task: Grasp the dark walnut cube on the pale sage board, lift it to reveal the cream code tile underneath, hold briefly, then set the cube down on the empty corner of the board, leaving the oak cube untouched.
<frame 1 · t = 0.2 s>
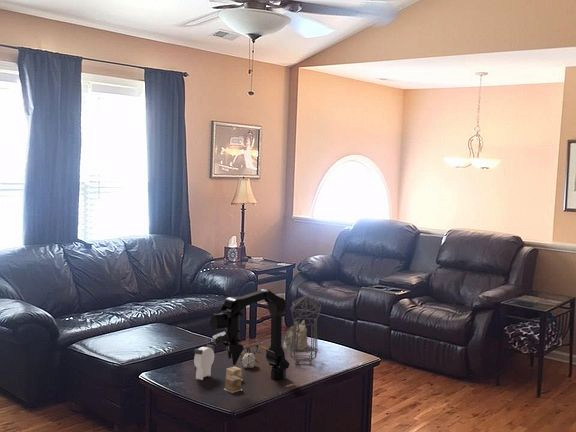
hand: (231, 361, 269), 14 cm above the table, fingers open, 9 cm apart
oak block: (233, 379, 284), point 1 cm above the table, touching code board
panda figurine: (203, 379, 287), on the table
geometric lantern: (303, 363, 315), on the table
walnut block: (232, 389, 272), point 1 cm above the table, touching code board
eyeglasses: (257, 357, 324), on the table
code board: (236, 387, 277), on the table
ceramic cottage: (293, 346, 345), on the table
game die: (248, 368, 303), on the table
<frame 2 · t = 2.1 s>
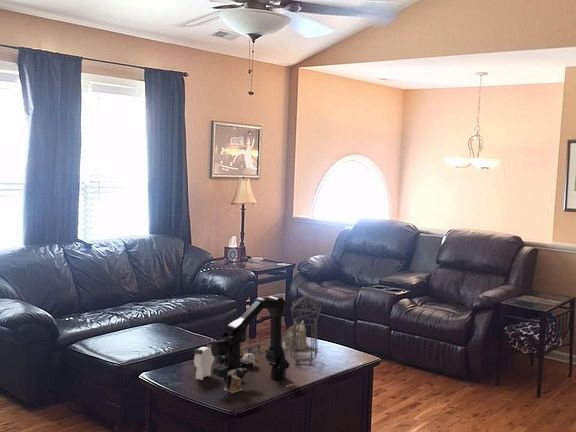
hand: (233, 387, 272), 2 cm above the table, fingers closed on walnut block, 5 cm apart
walnut block: (232, 389, 272), point 1 cm above the table, touching code board, gripper
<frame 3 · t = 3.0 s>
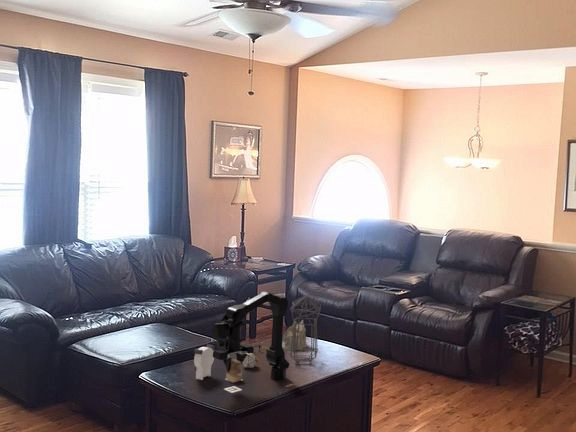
hand: (233, 370, 271), 9 cm above the table, fingers closed on walnut block, 5 cm apart
walnut block: (233, 372, 271), point 8 cm above the table, touching gripper
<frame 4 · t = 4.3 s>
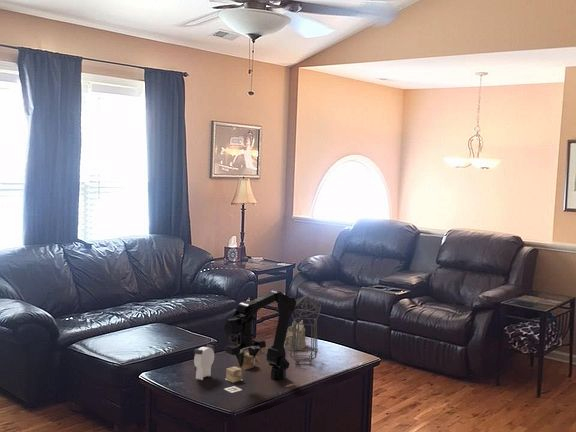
hand: (245, 365, 273), 11 cm above the table, fingers closed on walnut block, 5 cm apart
walnut block: (245, 367, 274), point 10 cm above the table, touching gripper
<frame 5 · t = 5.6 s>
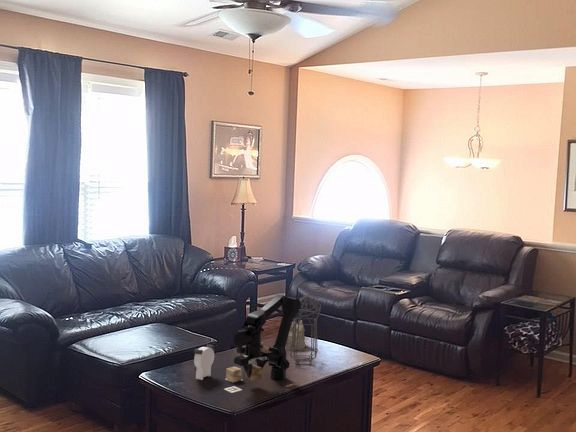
hand: (253, 376, 275), 6 cm above the table, fingers closed on walnut block, 5 cm apart
walnut block: (253, 378, 275), point 5 cm above the table, touching gripper
when the fingers open (3 cm above the table, at t = 6.5 s): walnut block drops 1 cm, resting on code board.
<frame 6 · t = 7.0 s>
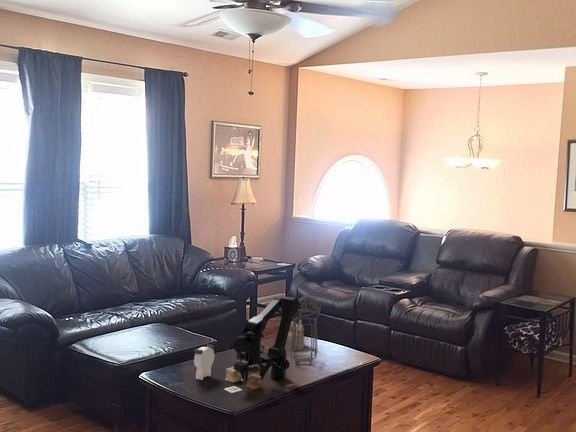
hand: (253, 382, 275), 3 cm above the table, fingers open, 9 cm apart
walnut block: (253, 387, 276), point 1 cm above the table, touching code board
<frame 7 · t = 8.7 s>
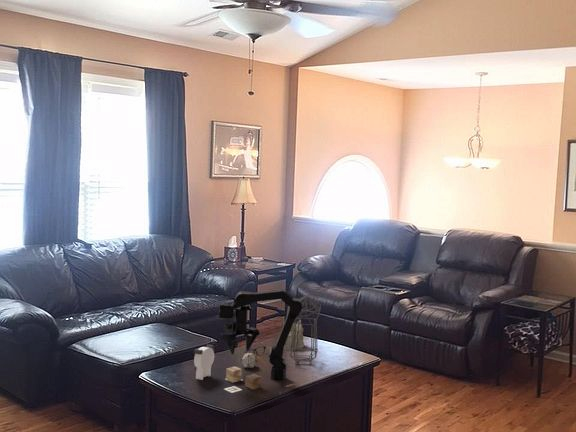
hand: (239, 352, 286), 13 cm above the table, fingers open, 9 cm apart
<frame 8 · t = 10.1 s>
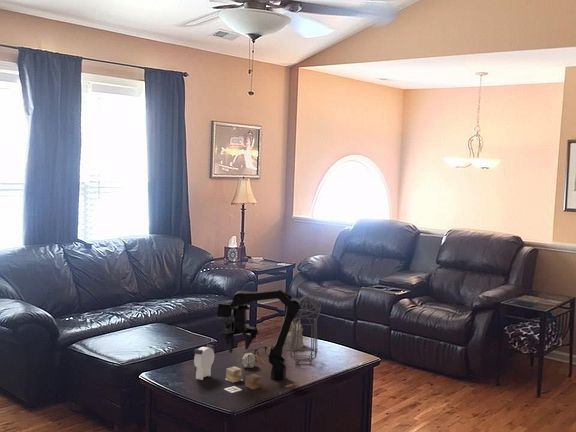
hand: (238, 351, 288), 13 cm above the table, fingers open, 9 cm apart
at the end: walnut block inside the target area (0.1 cm from its centre), point 0.6 cm above the table; walnut block tilted 0°; the gripper is holding nothing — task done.
